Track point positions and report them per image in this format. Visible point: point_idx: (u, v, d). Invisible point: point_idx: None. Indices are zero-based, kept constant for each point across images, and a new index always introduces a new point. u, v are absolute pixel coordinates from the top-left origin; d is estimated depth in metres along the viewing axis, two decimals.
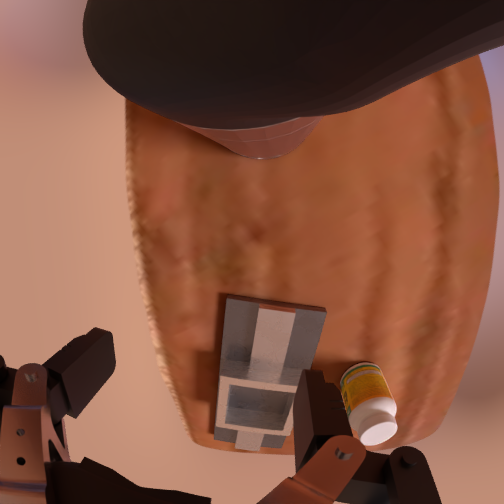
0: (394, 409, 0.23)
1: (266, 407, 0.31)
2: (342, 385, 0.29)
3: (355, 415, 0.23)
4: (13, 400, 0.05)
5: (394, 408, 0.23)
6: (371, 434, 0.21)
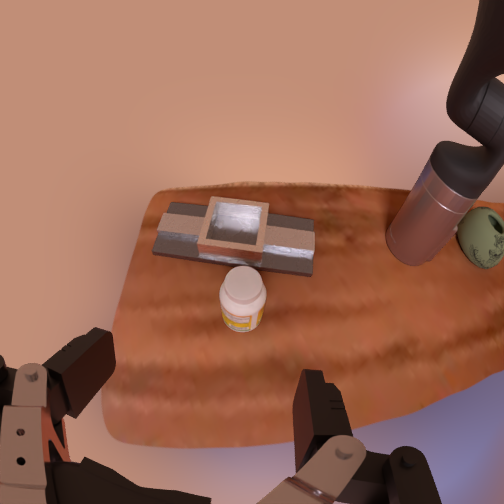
0: (254, 308, 0.30)
1: (216, 238, 0.42)
2: None
3: None
4: (12, 400, 0.05)
5: (255, 308, 0.30)
6: (245, 274, 0.30)
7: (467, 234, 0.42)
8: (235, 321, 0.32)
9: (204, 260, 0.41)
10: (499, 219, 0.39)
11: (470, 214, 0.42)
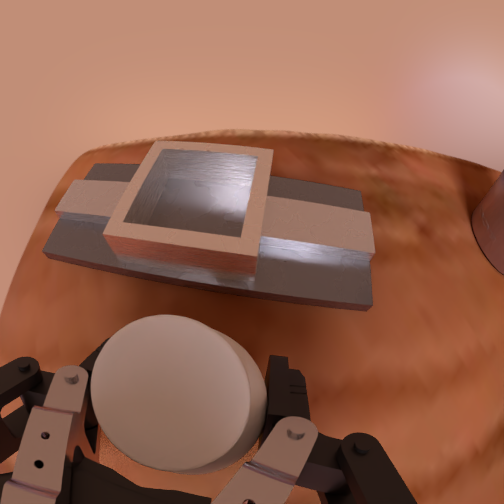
0: (220, 462, 0.06)
1: (159, 225, 0.19)
2: None
3: None
4: (46, 401, 0.05)
5: (224, 461, 0.06)
6: (175, 357, 0.06)
7: None
8: None
9: (129, 272, 0.17)
10: None
11: None
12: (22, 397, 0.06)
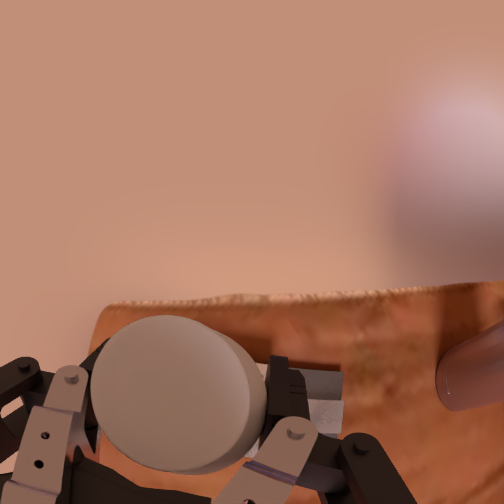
0: (220, 462, 0.06)
1: None
2: None
3: None
4: (46, 401, 0.05)
5: (224, 461, 0.06)
6: (175, 358, 0.06)
7: None
8: None
9: None
10: None
11: None
12: (22, 397, 0.06)
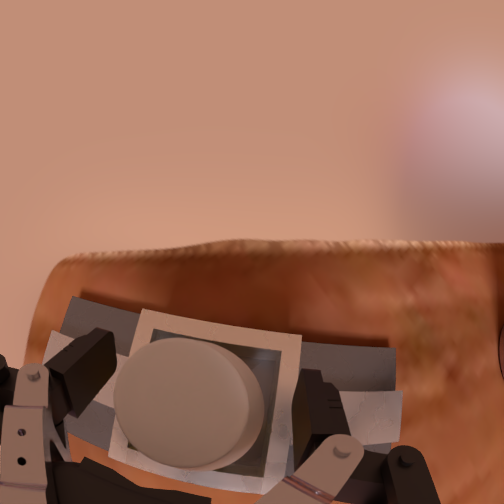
0: (223, 460, 0.08)
1: None
2: None
3: (216, 347, 0.10)
4: (14, 400, 0.05)
5: (227, 459, 0.08)
6: (186, 374, 0.07)
7: None
8: None
9: None
10: None
11: None
12: None
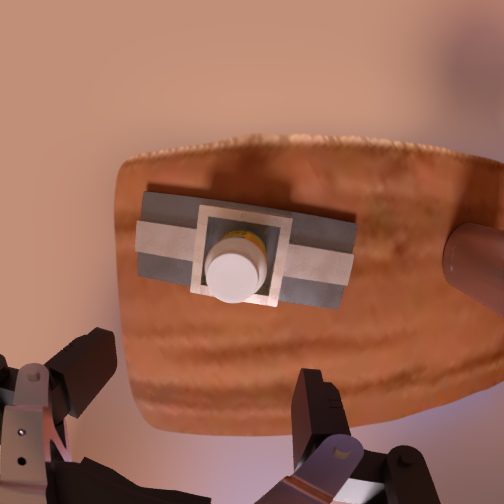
0: None
1: None
2: (243, 230, 0.28)
3: (245, 243, 0.23)
4: (14, 400, 0.05)
5: None
6: (234, 267, 0.21)
7: None
8: None
9: None
10: None
11: None
12: None
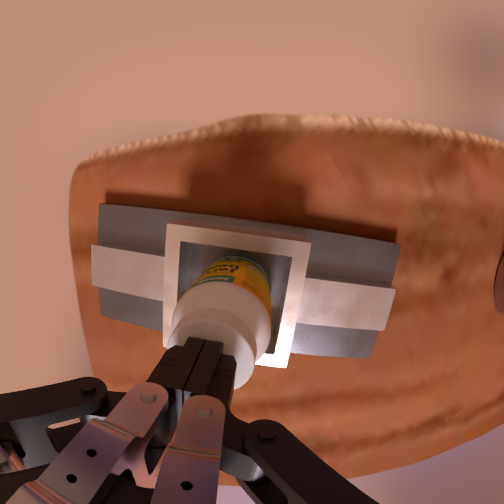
0: None
1: None
2: (236, 260, 0.19)
3: (233, 293, 0.13)
4: (109, 414, 0.06)
5: None
6: None
7: None
8: None
9: None
10: None
11: None
12: (85, 422, 0.06)
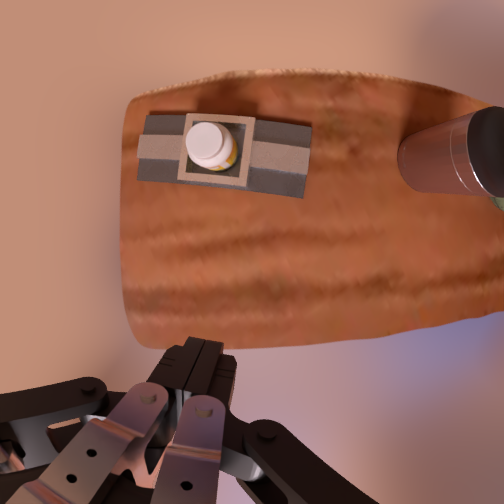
0: (218, 160, 0.30)
1: None
2: None
3: (215, 123, 0.29)
4: (110, 414, 0.06)
5: (220, 159, 0.30)
6: (205, 131, 0.27)
7: None
8: (207, 168, 0.33)
9: None
10: None
11: None
12: (85, 422, 0.06)
